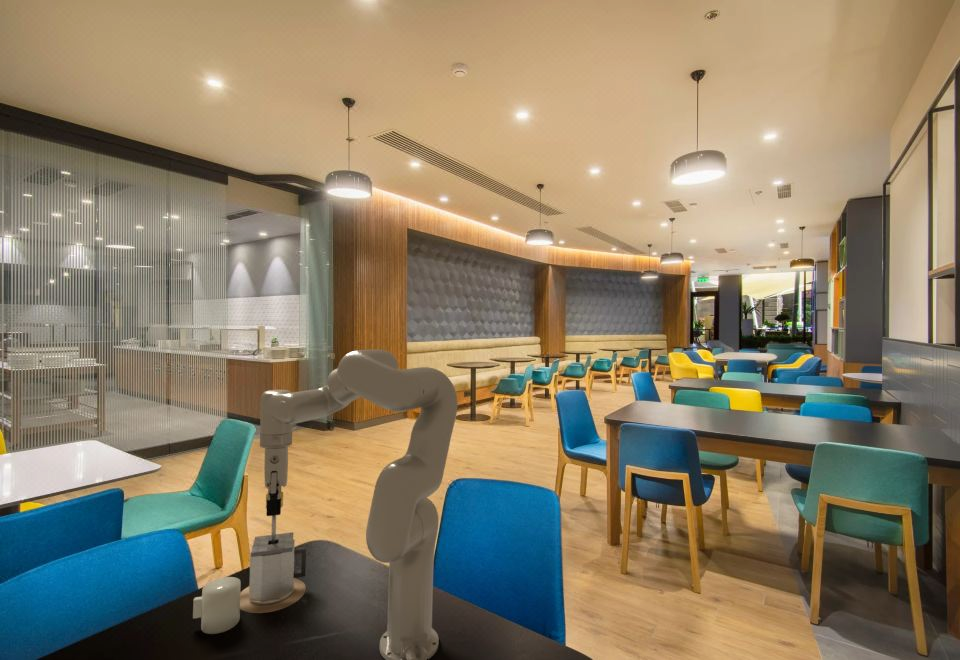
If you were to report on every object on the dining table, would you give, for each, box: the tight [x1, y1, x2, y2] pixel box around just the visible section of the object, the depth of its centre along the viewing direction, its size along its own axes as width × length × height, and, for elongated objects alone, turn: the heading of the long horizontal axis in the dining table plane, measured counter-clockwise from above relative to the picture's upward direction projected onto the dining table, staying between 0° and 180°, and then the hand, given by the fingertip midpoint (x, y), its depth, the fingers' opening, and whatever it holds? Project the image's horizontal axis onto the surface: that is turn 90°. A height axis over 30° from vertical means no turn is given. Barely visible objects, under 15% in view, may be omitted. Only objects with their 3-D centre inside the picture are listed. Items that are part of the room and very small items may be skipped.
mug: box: [192, 576, 242, 635], centre depth 104 cm, size 8×9×9 cm
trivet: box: [240, 578, 307, 614], centre depth 116 cm, size 16×16×1 cm
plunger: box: [265, 490, 284, 544], centre depth 116 cm, size 8×8×18 cm
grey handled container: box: [248, 531, 307, 606], centre depth 117 cm, size 10×13×13 cm
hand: (274, 510), depth 116 cm, fingers closed on plunger, 4 cm apart
